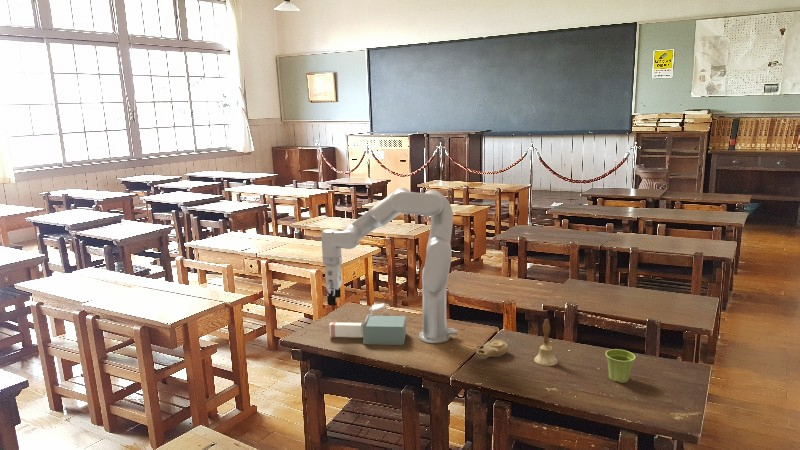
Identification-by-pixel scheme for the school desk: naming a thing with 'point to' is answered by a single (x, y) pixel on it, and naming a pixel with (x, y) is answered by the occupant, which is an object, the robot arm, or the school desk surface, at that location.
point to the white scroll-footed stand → (377, 308)
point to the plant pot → (619, 364)
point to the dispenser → (384, 330)
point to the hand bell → (546, 349)
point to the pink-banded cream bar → (345, 329)
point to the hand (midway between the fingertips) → (334, 301)
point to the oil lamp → (492, 349)
